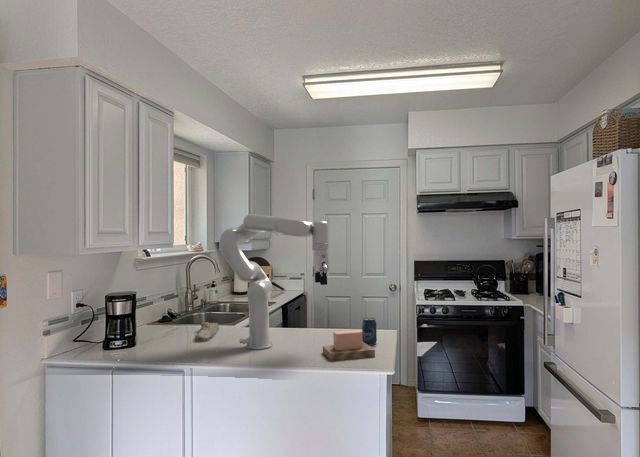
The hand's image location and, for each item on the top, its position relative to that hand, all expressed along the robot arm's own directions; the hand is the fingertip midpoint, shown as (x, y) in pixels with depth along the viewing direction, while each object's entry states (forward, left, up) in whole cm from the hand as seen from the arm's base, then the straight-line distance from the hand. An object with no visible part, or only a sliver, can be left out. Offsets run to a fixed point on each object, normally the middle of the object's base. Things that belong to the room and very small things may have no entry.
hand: (320, 283), depth 205 cm
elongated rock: (-52, +47, -31) cm, 77 cm away
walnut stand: (+8, -15, -30) cm, 35 cm away
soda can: (+24, 0, -31) cm, 39 cm away
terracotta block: (+8, -15, -27) cm, 32 cm away
